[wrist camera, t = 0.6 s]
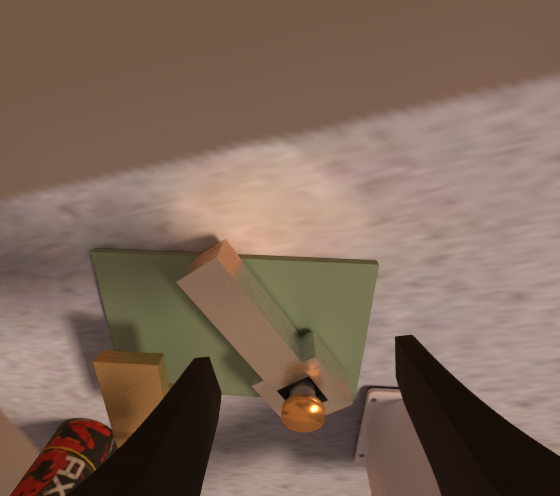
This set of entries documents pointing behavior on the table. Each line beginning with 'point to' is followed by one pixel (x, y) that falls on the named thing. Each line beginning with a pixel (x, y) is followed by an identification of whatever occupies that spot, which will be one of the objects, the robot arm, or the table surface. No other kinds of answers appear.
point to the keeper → (130, 388)
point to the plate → (202, 332)
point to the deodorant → (68, 459)
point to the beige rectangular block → (262, 330)
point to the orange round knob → (303, 407)
